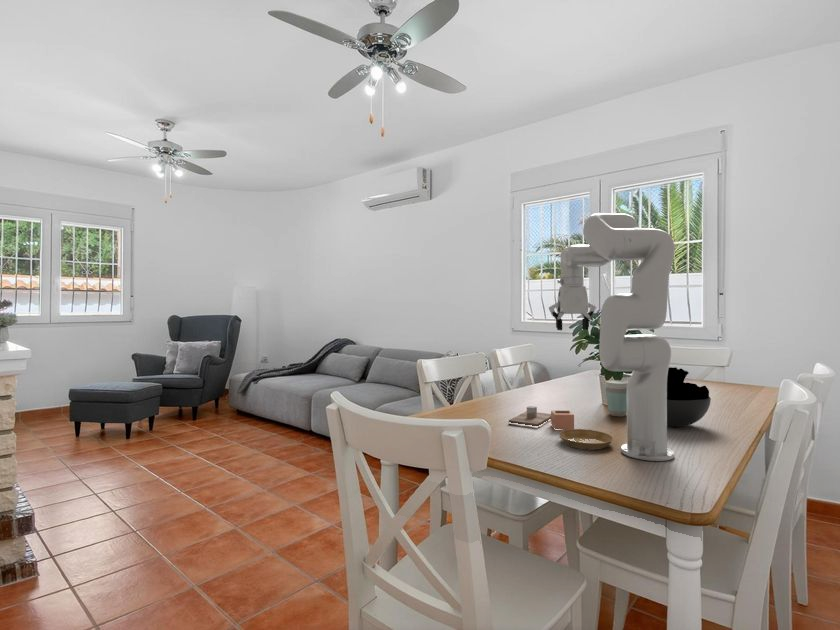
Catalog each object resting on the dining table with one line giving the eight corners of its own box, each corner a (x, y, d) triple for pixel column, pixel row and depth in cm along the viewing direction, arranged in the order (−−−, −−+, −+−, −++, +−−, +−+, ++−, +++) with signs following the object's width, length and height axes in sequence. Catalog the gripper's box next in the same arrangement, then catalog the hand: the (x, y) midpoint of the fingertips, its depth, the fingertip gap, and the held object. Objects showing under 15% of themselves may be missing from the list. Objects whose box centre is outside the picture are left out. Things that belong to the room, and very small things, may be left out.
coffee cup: (634, 417, 161) (634, 383, 161) (610, 417, 161) (609, 383, 161) (624, 411, 170) (623, 379, 169) (601, 412, 170) (600, 380, 170)
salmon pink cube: (574, 430, 145) (574, 412, 145) (555, 430, 145) (554, 412, 145) (569, 425, 151) (569, 408, 151) (551, 425, 151) (551, 408, 151)
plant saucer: (618, 442, 132) (618, 433, 132) (607, 456, 120) (607, 446, 120) (567, 435, 140) (567, 426, 140) (551, 447, 128) (551, 438, 128)
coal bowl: (691, 418, 158) (691, 364, 158) (724, 434, 138) (723, 372, 138) (631, 418, 160) (631, 364, 160) (655, 433, 140) (655, 372, 140)
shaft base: (537, 428, 147) (537, 413, 147) (508, 424, 153) (508, 409, 153) (553, 418, 161) (553, 404, 161) (526, 415, 166) (526, 401, 166)
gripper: (553, 282, 160) (553, 330, 160) (599, 281, 162) (600, 330, 162) (545, 283, 167) (545, 329, 168) (590, 283, 169) (590, 329, 169)
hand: (572, 329), depth 165 cm, fingers open, 9 cm apart
